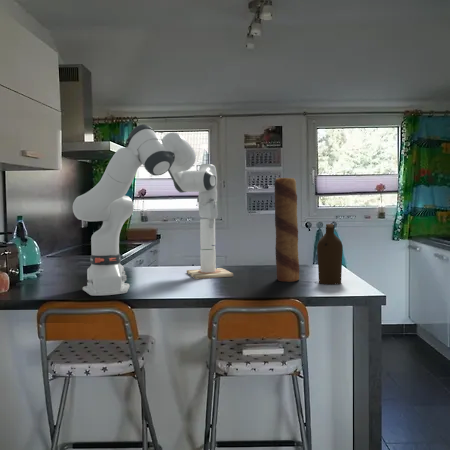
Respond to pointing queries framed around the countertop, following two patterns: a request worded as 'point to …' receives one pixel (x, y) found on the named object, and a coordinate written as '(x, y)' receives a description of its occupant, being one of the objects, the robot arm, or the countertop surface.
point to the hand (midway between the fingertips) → (208, 227)
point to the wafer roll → (286, 230)
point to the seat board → (210, 273)
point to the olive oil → (329, 257)
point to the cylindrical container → (207, 246)
